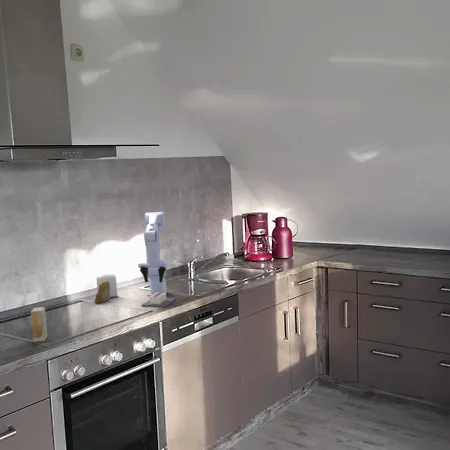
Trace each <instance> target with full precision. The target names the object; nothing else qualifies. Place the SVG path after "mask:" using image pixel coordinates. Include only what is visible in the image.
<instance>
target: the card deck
mask: <svg viewBox="0 0 450 450" xmlns="http://www.w3.org/2000/svg"><path fill="white" fill-rule="evenodd" d="M166 298H167V293H163V292H159V293H155V294H154V295H152V296H149V300H150V304H161V303H162V302H164V301H165V300H166Z"/></svg>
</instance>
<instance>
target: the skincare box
mask: <svg viewBox="0 0 450 450" xmlns="http://www.w3.org/2000/svg"><path fill="white" fill-rule="evenodd" d="M30 319H31V320H30V321H31V322H30V323H31V331H32V332H31V333H32V342H36V343H37V342H45V341H46V340H47V337H48V329H47V316H46V307H44V306H41V307H33V308H32V310H31V311H30Z"/></svg>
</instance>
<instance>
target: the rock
mask: <svg viewBox="0 0 450 450" xmlns="http://www.w3.org/2000/svg"><path fill="white" fill-rule="evenodd" d="M109 292H110V283H109V282H108V281H107V282H103V283H102V284H101V285H99V289H98V293H97V292H96V294H95V299H94V302H93V303H94V304H101V303H103V302H104V303H105V302H107V301H109V300H110V299H111V297H110V293H109Z"/></svg>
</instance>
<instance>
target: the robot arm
mask: <svg viewBox="0 0 450 450" xmlns="http://www.w3.org/2000/svg"><path fill="white" fill-rule="evenodd" d="M144 221H145V226H146V229H145V232H144V233H143V234H144V235H143V240H144V244H145V252H146V253H145V255H146V262H145V263H144V262H143V263H138V265H137V266H138V268H139V272H140V273H141V275H142V276H143V279H144V282H145V283H148V282H149V292H150V293H149V294H147V297H148V296H149V297H150V296H152V295H154V294H155V293H159V292H163V293H166V294H167V293H168V292H169V291H168V290H167V282H166V281H167V280H166V278H165V277H166V275H167V270H166V269H168V263H167V262H165V261H164V259H161V233H162V230H163V229H164V228H165V213H164V211H157V212H156V211H153V212H152V211H151V212H147V211H145V213H144Z"/></svg>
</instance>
